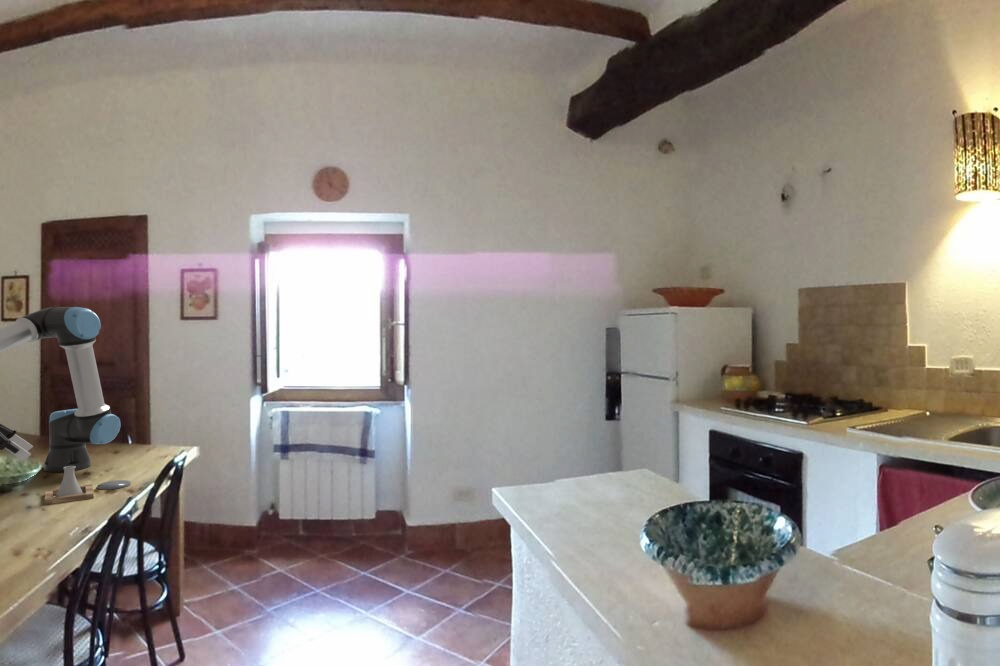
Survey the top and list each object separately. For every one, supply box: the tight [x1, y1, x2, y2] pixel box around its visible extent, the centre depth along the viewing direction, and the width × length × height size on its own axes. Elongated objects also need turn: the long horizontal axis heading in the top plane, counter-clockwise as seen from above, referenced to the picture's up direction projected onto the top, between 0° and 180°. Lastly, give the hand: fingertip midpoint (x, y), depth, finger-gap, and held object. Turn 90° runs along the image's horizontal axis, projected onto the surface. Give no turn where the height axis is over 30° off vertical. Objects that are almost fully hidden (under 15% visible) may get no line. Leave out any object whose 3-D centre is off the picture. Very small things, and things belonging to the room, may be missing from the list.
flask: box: [55, 466, 84, 497], centre depth 199 cm, size 7×7×10 cm
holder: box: [44, 484, 95, 506], centre depth 199 cm, size 13×13×2 cm
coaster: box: [96, 479, 132, 491], centre depth 212 cm, size 10×10×1 cm
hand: (28, 453), depth 192 cm, fingers open, 13 cm apart
